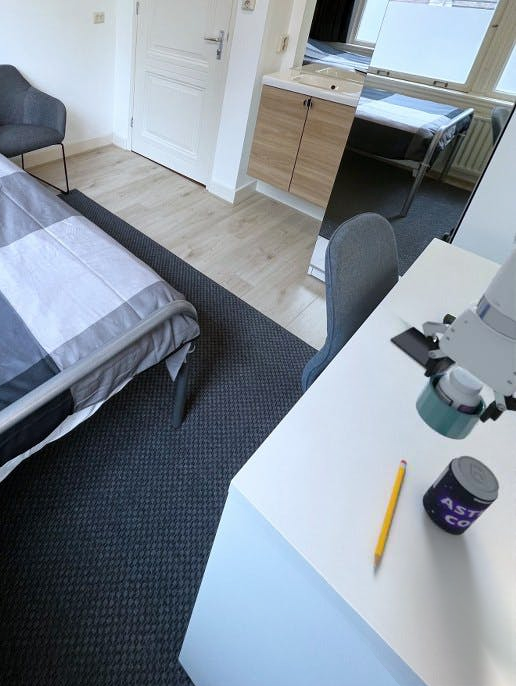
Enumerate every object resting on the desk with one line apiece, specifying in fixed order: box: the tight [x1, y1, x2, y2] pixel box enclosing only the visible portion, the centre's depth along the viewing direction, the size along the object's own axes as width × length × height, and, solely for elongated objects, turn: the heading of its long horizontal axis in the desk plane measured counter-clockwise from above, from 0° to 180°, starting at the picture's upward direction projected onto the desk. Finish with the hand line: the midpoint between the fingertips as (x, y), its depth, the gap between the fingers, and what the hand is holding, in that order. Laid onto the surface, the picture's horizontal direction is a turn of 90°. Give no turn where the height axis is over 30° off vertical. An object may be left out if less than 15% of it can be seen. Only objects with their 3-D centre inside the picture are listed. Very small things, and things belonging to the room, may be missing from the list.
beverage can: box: [422, 455, 500, 536], centre depth 63 cm, size 6×6×12 cm
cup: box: [415, 372, 487, 441], centre depth 69 cm, size 8×8×6 cm
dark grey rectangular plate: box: [390, 326, 456, 373], centre depth 95 cm, size 10×14×1 cm
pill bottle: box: [434, 366, 484, 415], centre depth 68 cm, size 5×5×10 cm
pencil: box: [373, 459, 408, 567], centre depth 65 cm, size 1×19×1 cm, turn 138°
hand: (457, 394), depth 68 cm, fingers closed on cup, 7 cm apart
